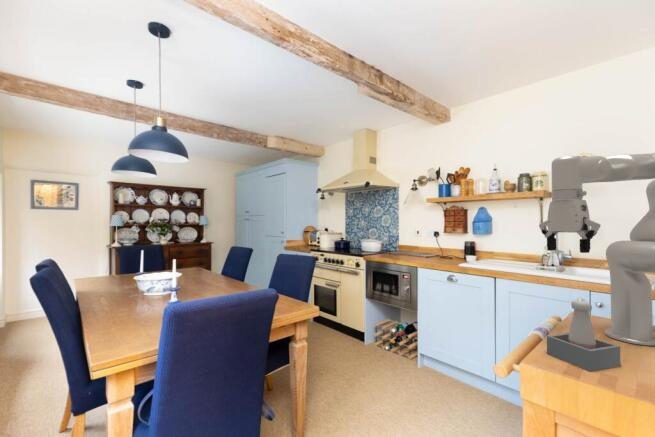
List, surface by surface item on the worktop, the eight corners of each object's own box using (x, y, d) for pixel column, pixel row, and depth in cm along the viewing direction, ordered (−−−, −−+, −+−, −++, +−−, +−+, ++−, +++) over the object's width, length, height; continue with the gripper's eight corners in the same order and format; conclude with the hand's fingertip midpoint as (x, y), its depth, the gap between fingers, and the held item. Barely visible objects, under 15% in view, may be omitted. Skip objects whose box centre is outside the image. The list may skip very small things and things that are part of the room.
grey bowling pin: (601, 354, 78) (601, 304, 79) (576, 352, 80) (576, 303, 80) (587, 346, 84) (586, 299, 85) (563, 344, 85) (563, 298, 86)
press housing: (574, 349, 89) (574, 332, 89) (620, 365, 78) (620, 346, 78) (546, 353, 85) (546, 335, 85) (591, 371, 75) (590, 351, 75)
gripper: (607, 194, 88) (608, 253, 87) (548, 199, 104) (548, 249, 104) (589, 193, 85) (590, 254, 85) (531, 198, 102) (532, 249, 101)
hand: (567, 251), depth 94 cm, fingers open, 9 cm apart
